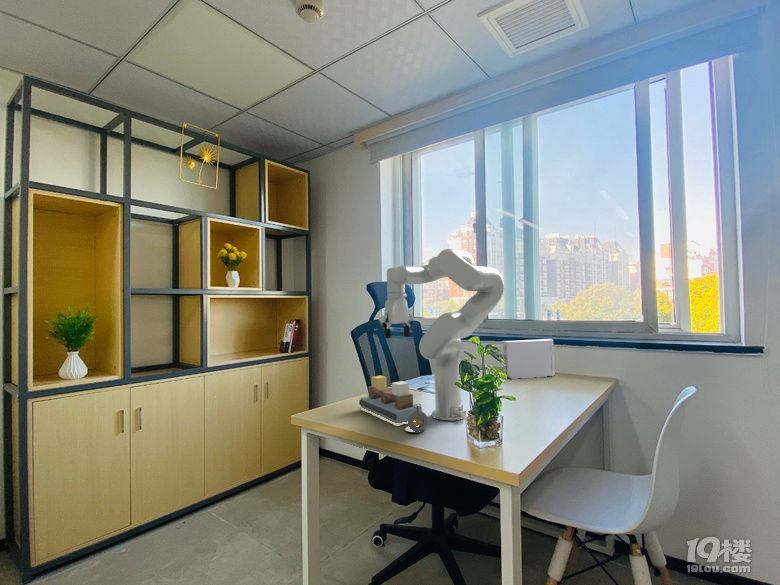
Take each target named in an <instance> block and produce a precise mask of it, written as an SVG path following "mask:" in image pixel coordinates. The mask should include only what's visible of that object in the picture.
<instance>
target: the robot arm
mask: <svg viewBox="0 0 780 585" xmlns="http://www.w3.org/2000/svg"><path fill="white" fill-rule="evenodd" d="M473 264H474V258H473V256H472V255H471V254H470V252H468V251H466V250H463V249H458V248H457V249H454V248H445V249H443V250H442V251H440V252H439V253H438V254H437V256H432V257H431V258H430V259H429V260H428V264H424V265H419V266H418V265H400V266H398V267H389V268H387V270H386V289H387V290H386V291H387V293H386V294H387V296H386V298H387V300H385V303H384V311H383V315H382V316H380V317H378V321H379V323H380V325H381V326H382V328H383V329H384V336H385V339H391V336H392V335H391V333H392V332H391V328H390V327H391V326H392V325H395V324H396V325H397V324H403V326H404V327H403V335H404V337H407V338H408V337H410V334H411V330H410V328H411V326H412V324H413V323H414V322H413V321H414V319H415V316H414V315H412V314H410V313H409V307H408V306H409V305H408V300H407V299H406V298H407V297H408V293H406V291H405V290H406V285H422V284H428V283H432V282H435V281H437V280H440V279H443V278H448V279H449V280H451V282H453V283H455V284H456V285H457V286H458V287H459V288H460V289H462V290H464V291H466V292H476V293H475V294H473V295H472V296H471V297H470V298H469V299H467V301H466V302H465V303H464V304H463V305H462V307H461V308H460V309H459V310H456V311H450V312H445V313H442V314H441V315H439V316H438V317H437V318H436V319H435V321H433V323H432V324H431V325H430V326H429V327H428V329H427V330H426V332H425V333H424V334H423V335H422V337H421V338H420V341H419V346H418V349H419V352H420V355H421V356H422V357H423V358H424V359H426V360H429V361H432V360H433V361H435V363H434V371H433V372H434V374H433V375H434V399H435V400H434V401H435V402H434V403H435V409H434V410H433V411H432V412H431V417H432V416H433V417H435V418H437V419H442V420H457V421H461V420H464V419H465V418H466V417H465V412H466V411H467V410H465V409H464V405H462V394H461V393H462V391H461V390H462V389H461V388H459V387H457V386H456V385H455V382H457V381H459V380H460V381H461V374H460V375H459V364H460V365H461V354H462V347H463V346H462V340H461V339H464V338H468V337H469V336H471V335H472V334H473V333H474V331H475V330H477V328H479V326H480V325H481V324H482V322H483V321H484V320H485V319H486V317H487V316H488V315H489V314H490V313H491V312H492V311H493V310H494V309H495V307H497V305H498V304H499V303H500V301H501V299H502V297H503V295H504V289H505V285H504V278H503V276H502V274H501V273H500V272H499V271H498V269H496V268H493V267H491V266H490V267H489V266H481V265H480V266H479V265H473ZM433 417H432V418H433ZM464 417H465V418H464ZM435 418H434V419H435ZM437 419H436V420H437ZM460 419H461V420H460ZM442 420H441V421H442Z"/></svg>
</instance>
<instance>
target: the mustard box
mask: <svg viewBox="0 0 780 585" xmlns="http://www.w3.org/2000/svg"><path fill="white" fill-rule="evenodd" d="M370 378H371V380H370V381H371V386H372V387H373V388H376V389H379V388H385V387H388V382H387V376H385V375H384V376H383V375H376V376H371V377H370Z"/></svg>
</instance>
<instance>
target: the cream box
mask: <svg viewBox="0 0 780 585" xmlns="http://www.w3.org/2000/svg"><path fill="white" fill-rule="evenodd" d="M391 388H392V394H394V395H397V396H402V395H407V394H409V393H410V390H409V388H410V387H409V382H405V381H403V380H402V381H395V382H392V383H391Z"/></svg>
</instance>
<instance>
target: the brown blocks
mask: <svg viewBox="0 0 780 585" xmlns="http://www.w3.org/2000/svg"><path fill="white" fill-rule="evenodd" d="M368 396H369V398H370V399H377V398H381V403H383V404H389V403H394V402H395V408H396V409H398V410H402V409H406V408H411V407H413V404H414V394H412V393H410V392H409V394H407V395H402V396H397V395H394V394H392V386H391V387H390V386H387V387H385V388H379V389H376V388H373V387H372V385H370V386H368Z"/></svg>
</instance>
